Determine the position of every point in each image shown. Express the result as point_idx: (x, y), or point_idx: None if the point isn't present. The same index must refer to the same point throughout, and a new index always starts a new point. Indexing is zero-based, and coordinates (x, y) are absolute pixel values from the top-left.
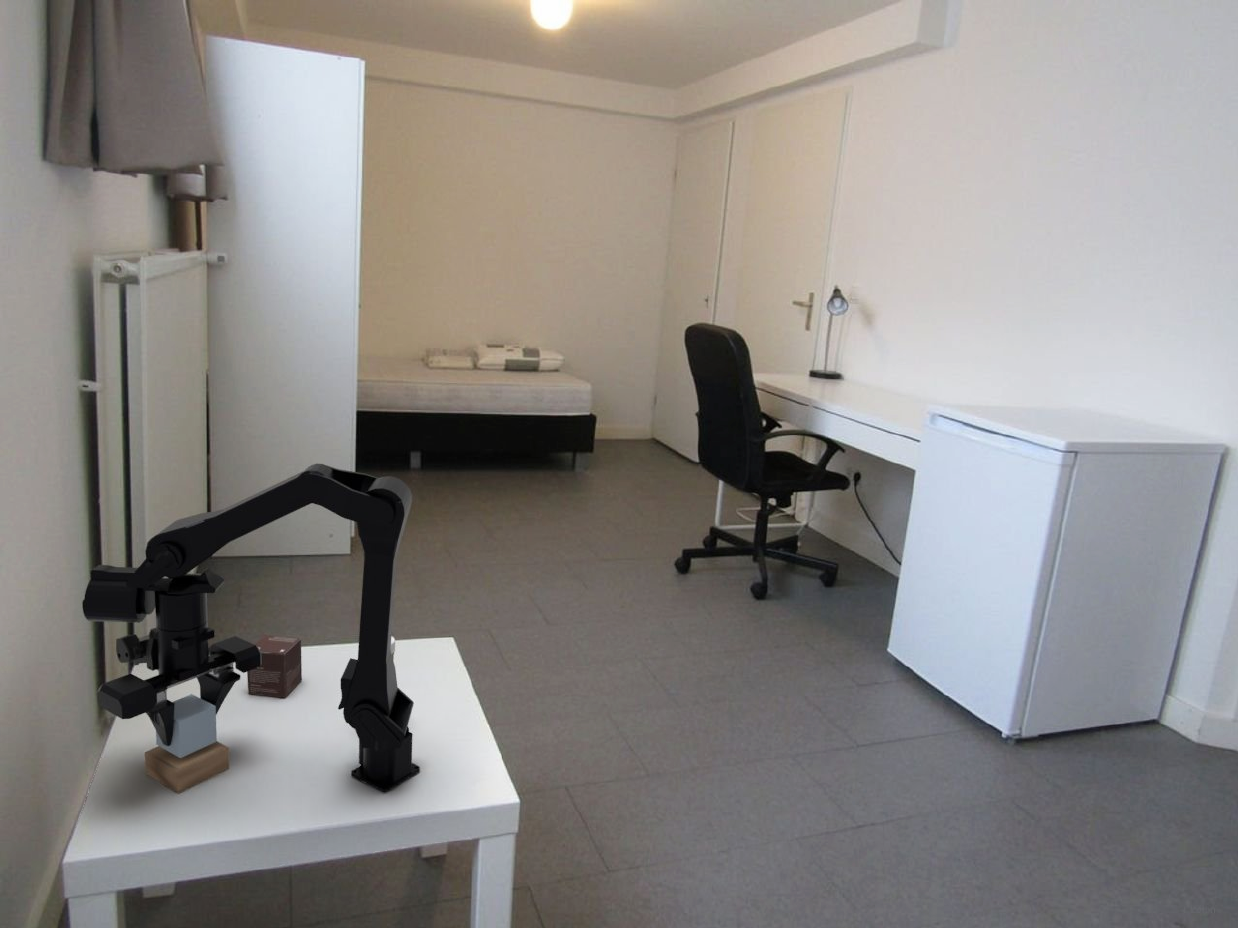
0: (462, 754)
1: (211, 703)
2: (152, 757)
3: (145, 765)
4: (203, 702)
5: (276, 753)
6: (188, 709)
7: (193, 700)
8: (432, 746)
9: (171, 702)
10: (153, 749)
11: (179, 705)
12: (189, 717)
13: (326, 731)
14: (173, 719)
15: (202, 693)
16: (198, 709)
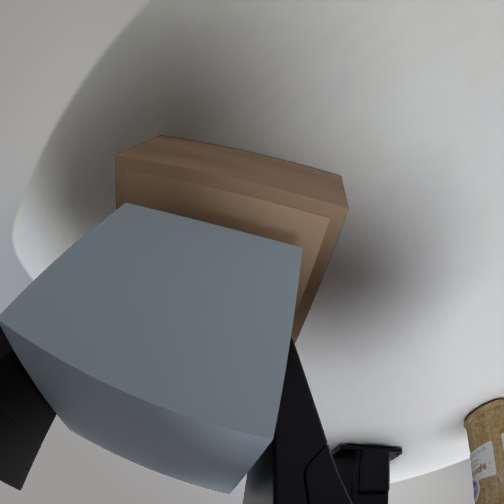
0: (410, 471)
1: (248, 482)
2: (116, 204)
3: (146, 142)
4: (224, 476)
5: (386, 359)
6: (132, 446)
7: (206, 454)
8: (426, 458)
9: (11, 485)
10: (143, 167)
11: (111, 417)
12: (109, 449)
13: (474, 379)
14: (48, 427)
15: (268, 494)
16: (163, 468)
